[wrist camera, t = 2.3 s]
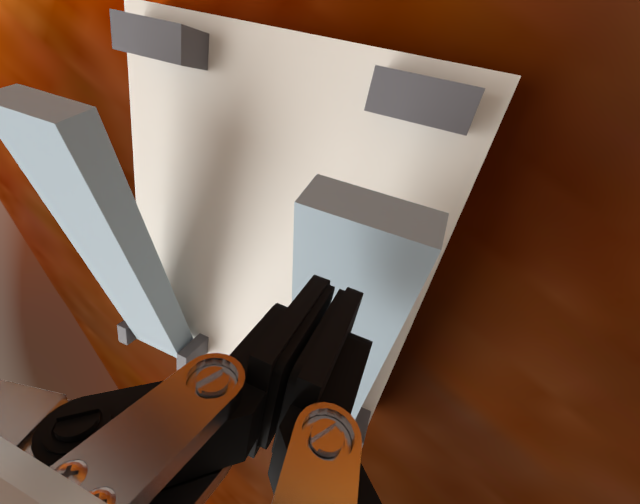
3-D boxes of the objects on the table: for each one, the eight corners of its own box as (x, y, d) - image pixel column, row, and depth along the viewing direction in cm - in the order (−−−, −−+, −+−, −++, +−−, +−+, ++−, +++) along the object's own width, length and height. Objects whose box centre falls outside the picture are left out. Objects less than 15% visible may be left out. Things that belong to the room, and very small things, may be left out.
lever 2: (352, 415, 27) (344, 439, 26) (299, 390, 28) (288, 412, 27) (448, 213, 11) (441, 250, 10) (317, 173, 12) (294, 202, 11)
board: (370, 407, 30) (355, 467, 25) (165, 314, 35) (117, 348, 30) (509, 81, 18) (537, 67, 13) (160, 10, 23) (76, -21, 18)
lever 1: (194, 341, 30) (180, 359, 29) (152, 322, 31) (136, 338, 30) (95, 107, 14) (54, 123, 13) (16, 83, 16) (-29, 96, 14)
